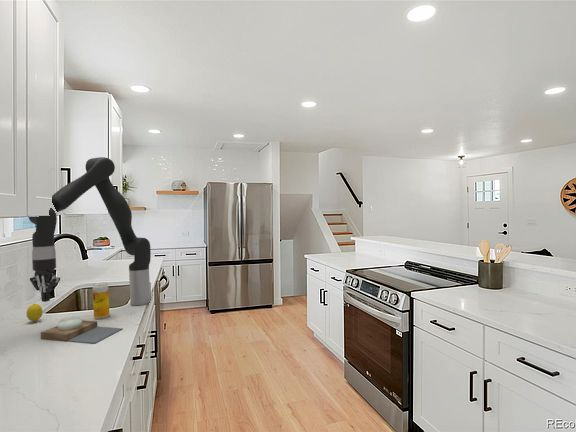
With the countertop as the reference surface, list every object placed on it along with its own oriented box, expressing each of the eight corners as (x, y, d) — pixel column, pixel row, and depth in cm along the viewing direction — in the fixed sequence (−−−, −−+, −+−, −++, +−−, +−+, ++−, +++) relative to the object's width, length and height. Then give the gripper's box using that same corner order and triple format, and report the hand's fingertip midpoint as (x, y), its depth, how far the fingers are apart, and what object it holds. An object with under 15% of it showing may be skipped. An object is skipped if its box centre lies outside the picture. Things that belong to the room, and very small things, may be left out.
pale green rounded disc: (70, 322, 134) (70, 316, 134) (87, 323, 132) (86, 317, 132) (52, 329, 126) (52, 323, 126) (69, 331, 125) (69, 324, 124)
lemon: (34, 324, 140) (33, 305, 140) (23, 323, 141) (22, 305, 141) (46, 319, 146) (45, 301, 145) (35, 319, 147) (34, 301, 146)
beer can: (90, 318, 146) (89, 284, 146) (104, 314, 151) (102, 281, 151) (99, 320, 143) (97, 286, 143) (112, 316, 149) (111, 282, 148)
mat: (98, 327, 135) (98, 326, 135) (122, 329, 132) (122, 328, 132) (67, 341, 121) (67, 340, 121) (94, 343, 118) (94, 342, 118)
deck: (73, 325, 138) (72, 319, 138) (97, 327, 135) (97, 321, 135) (40, 339, 124) (40, 332, 124) (67, 341, 121) (66, 334, 121)
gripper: (66, 256, 133) (67, 299, 134) (39, 255, 136) (41, 297, 137) (48, 259, 126) (50, 304, 126) (21, 258, 129) (23, 303, 129)
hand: (45, 301), depth 131 cm, fingers closed
